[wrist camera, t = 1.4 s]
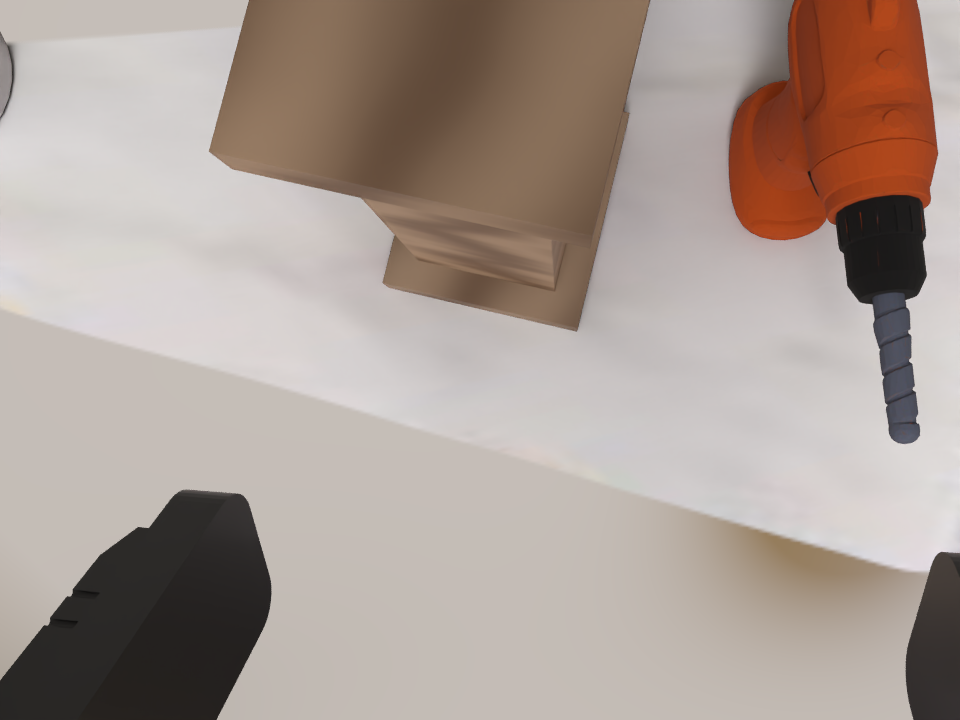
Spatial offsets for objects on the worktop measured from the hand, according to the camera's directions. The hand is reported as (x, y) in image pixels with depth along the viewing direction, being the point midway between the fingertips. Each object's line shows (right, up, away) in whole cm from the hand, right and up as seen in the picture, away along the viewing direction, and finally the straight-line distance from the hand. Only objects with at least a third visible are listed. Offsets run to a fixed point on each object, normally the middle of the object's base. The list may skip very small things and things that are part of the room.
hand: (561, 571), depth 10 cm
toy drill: (+14, +8, +31) cm, 35 cm away
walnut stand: (0, +11, +33) cm, 34 cm away
